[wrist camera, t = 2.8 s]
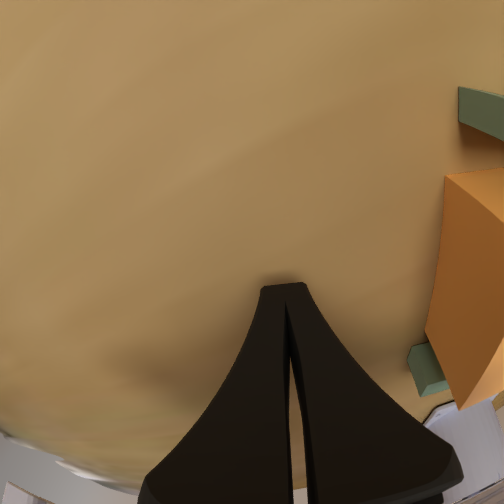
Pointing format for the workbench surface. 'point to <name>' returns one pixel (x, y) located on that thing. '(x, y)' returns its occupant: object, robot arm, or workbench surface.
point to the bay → (500, 126)
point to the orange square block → (470, 287)
